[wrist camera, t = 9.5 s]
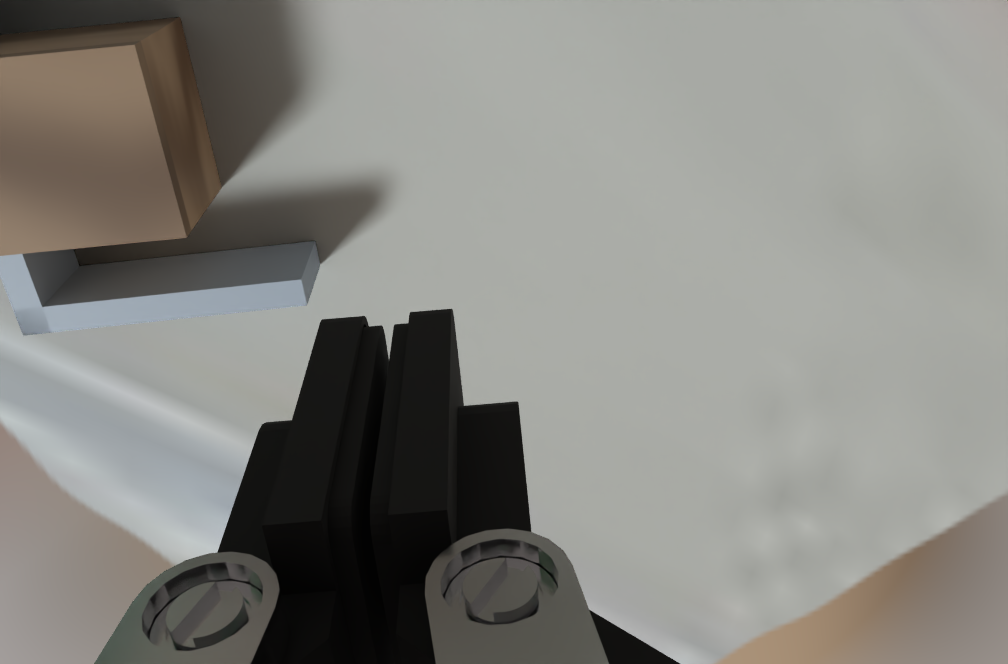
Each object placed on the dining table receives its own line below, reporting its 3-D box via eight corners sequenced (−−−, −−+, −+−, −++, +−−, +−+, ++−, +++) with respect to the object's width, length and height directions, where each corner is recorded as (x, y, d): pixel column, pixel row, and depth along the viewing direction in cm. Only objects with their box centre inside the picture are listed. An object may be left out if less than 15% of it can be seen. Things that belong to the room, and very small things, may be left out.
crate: (3, 33, 31) (-73, 65, 26) (181, 16, 31) (134, 44, 26) (59, 202, 33) (-1, 256, 29) (222, 186, 33) (186, 238, 29)
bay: (-72, -76, 29) (-136, -68, 26) (242, -110, 29) (216, -106, 26) (61, 292, 35) (23, 335, 32) (320, 264, 35) (307, 305, 32)
